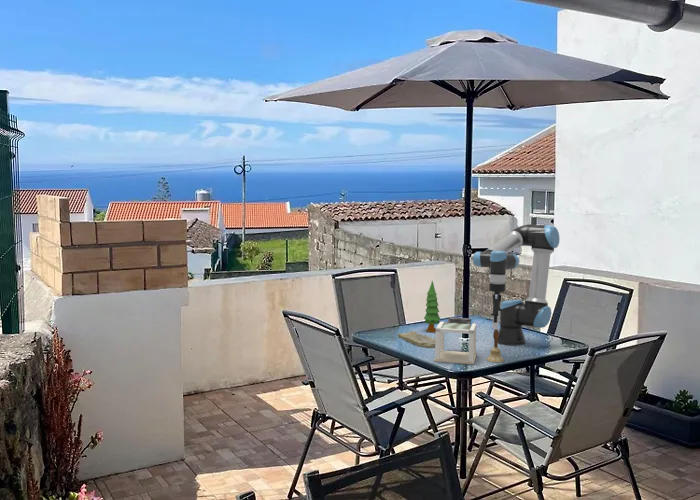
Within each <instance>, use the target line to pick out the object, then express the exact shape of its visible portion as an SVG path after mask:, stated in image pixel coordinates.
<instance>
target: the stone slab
mask: <svg viewBox="0 0 700 500" xmlns="http://www.w3.org/2000/svg"><path fill="white" fill-rule="evenodd" d="M397 338H399V339H401V338H402V339H401V340H403V339H404V341H405V340H406V342H408V343H410V344H412V345H414V346H416V347H418V348H419V347H420V348H427V349H433V348H434V349H435V338H434V337H432V336H431V337H430V336H428V335H426V334H425V335H424V334H421V333H418V332H417V331H409V332H404V333H403V332H402V333H398V334H397Z"/></svg>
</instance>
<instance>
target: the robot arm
mask: <svg viewBox="0 0 700 500" xmlns="http://www.w3.org/2000/svg"><path fill="white" fill-rule="evenodd" d="M559 245H560V233H559V230H558V228H557V227H556V226H554V225H548V224H532V223H531V224H530V223H529V224H524V225H520V226H518V227H516V228H514V229H512V230H510V231H508V233H507V235H506V236H505V237H503V238H502V239H499V241H497V242H496V243H495V244H493V245H491V246H490V247H489V248H487V249H486V250H484V251H475V253H474V254H473V256H472V260H473V261H472V262H473V265H474V266H476V267H479V268H489V275H488V278H489V284H488V289H489V291H490V292H494V293H493V294H492V304H493V305H492V306H493V307H492V313H491V315H490V316H492V323H491V325H492V327H491V329H492V330H495V329H498V332H499V337H498V341H497V344H499V345H500V344H501V345H505V346H506V345H507V346H522V345H525V344H526V338H525V335H524V332H523V326H526V327H532V328H536V329H537V328H541V329H543V328H545V327H546V326H548V324H549V323H550V321H551V317H552V308H551V307H550V306H549V302H548V301H547V298H546V296H547V287H548V279H549V273H550V262H551V261H550V260H551V256H552V255H551V254H553V253H554V252H555V249H556V248H558V247H559ZM524 246H525V247H531V251H532V252H533V257H532V264H531V275H530V282H529V283H530V284H529V291H528V298H527V297H526V299H525V303H524V301H523V300H522V299H509V300H508V299H507V300H504V301H502V294H501V293H503V292H506V280H507V279H506V277H507V273H506V271H507V270H513V269H516V268H517V267H518V266H519V264H520V258H519V256H518V255H516V254H515V253H510V252H511V251H513V250H514V249H518V248H520V247H524Z"/></svg>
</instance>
